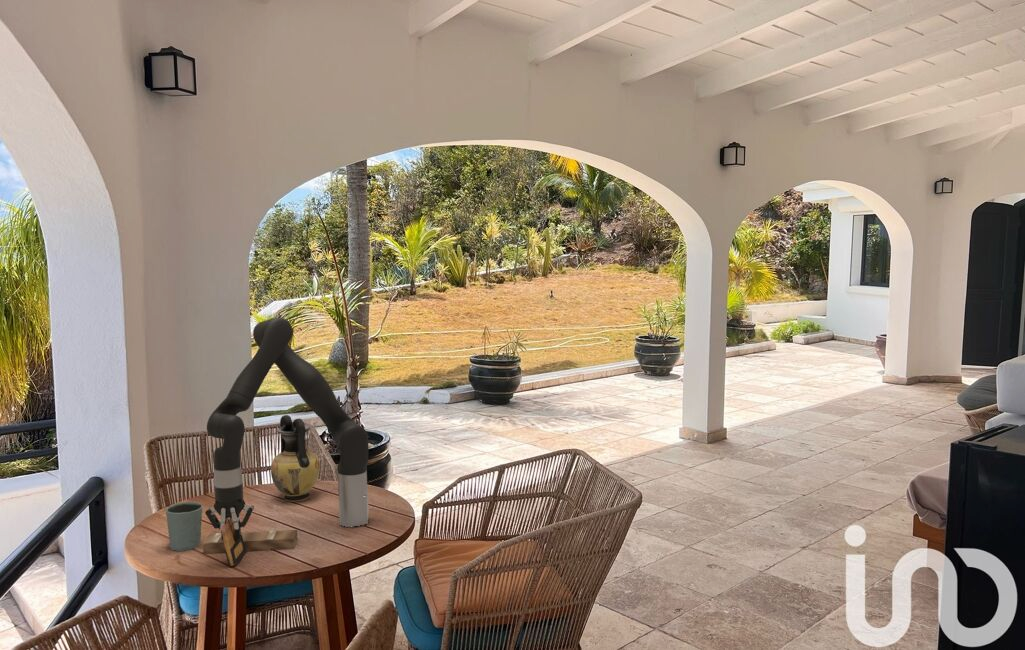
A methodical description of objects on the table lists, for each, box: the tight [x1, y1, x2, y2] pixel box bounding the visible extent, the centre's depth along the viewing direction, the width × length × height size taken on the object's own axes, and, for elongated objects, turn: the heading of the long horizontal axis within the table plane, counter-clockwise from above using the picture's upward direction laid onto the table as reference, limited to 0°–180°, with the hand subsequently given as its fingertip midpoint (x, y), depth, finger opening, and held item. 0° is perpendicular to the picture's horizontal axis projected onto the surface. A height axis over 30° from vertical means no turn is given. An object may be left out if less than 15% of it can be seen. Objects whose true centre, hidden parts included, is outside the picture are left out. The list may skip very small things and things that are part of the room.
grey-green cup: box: [165, 501, 204, 552], centre depth 224 cm, size 10×10×12 cm
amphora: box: [270, 414, 321, 503], centre depth 265 cm, size 18×17×30 cm
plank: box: [202, 529, 299, 554], centre depth 223 cm, size 26×7×3 cm, turn 97°
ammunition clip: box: [222, 518, 247, 568], centre depth 213 cm, size 11×2×12 cm, turn 4°
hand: (231, 540), depth 213 cm, fingers closed on ammunition clip, 2 cm apart
